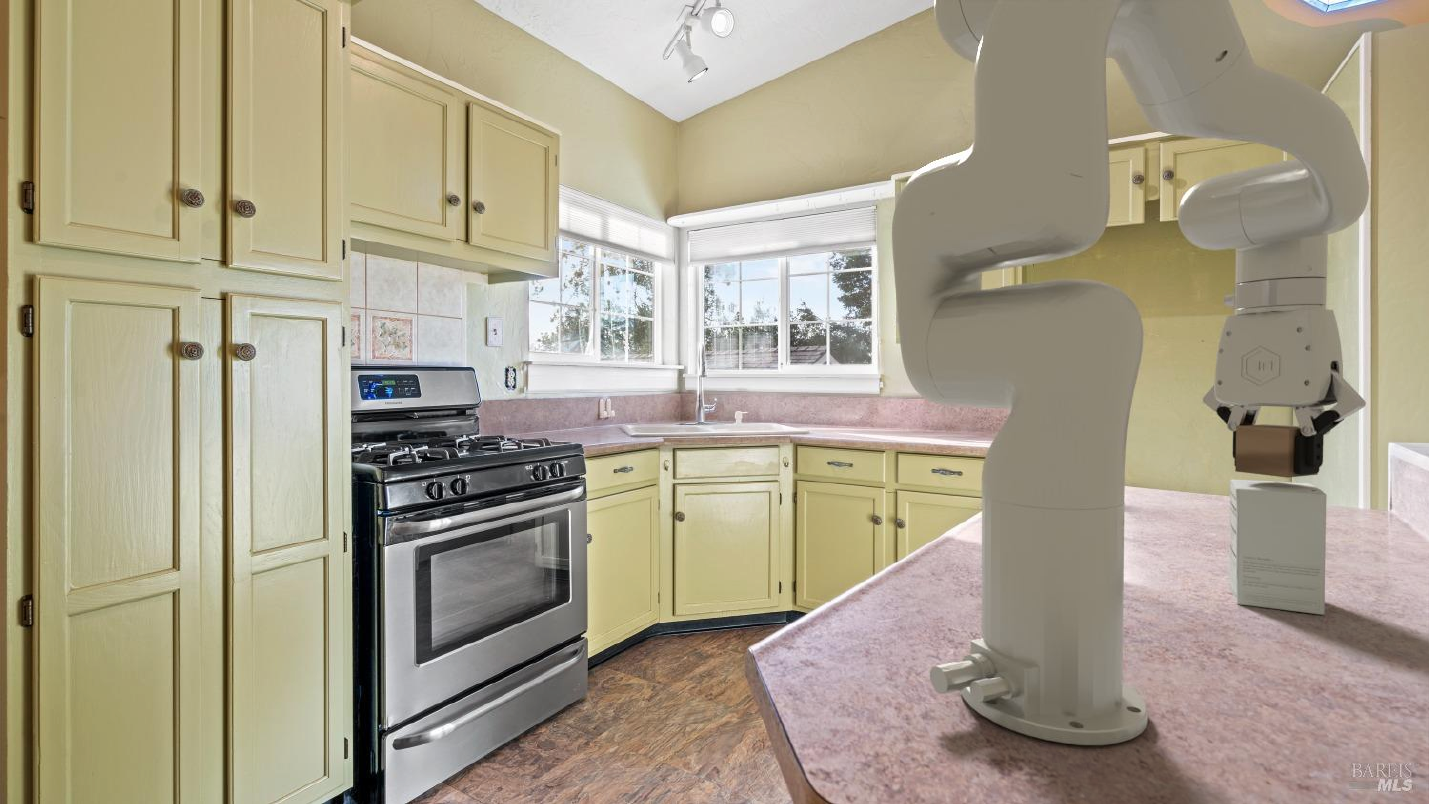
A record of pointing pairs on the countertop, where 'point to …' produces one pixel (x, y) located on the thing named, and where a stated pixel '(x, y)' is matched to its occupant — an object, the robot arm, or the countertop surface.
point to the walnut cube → (1266, 450)
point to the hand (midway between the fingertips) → (1275, 468)
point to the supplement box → (1278, 545)
